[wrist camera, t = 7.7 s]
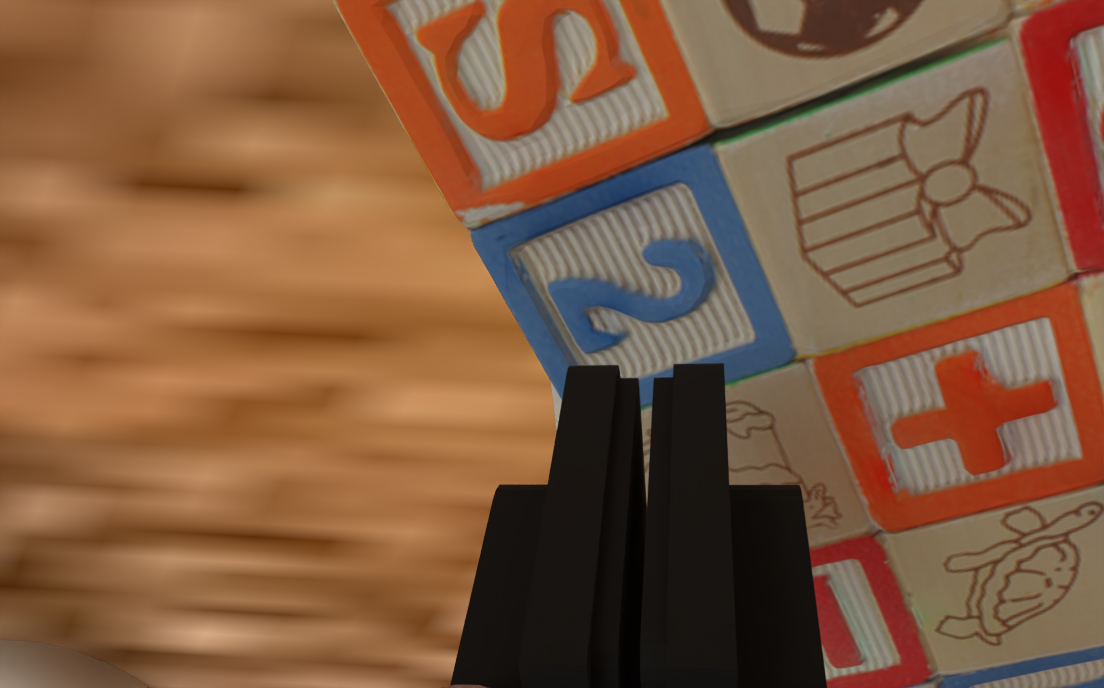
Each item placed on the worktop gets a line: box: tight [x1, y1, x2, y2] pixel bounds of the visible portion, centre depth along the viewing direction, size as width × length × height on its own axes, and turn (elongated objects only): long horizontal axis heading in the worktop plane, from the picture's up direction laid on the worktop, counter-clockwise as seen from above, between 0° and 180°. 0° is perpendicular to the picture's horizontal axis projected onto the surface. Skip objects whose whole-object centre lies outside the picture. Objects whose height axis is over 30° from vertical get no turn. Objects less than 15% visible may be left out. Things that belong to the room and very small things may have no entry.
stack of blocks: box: [333, 0, 1104, 688], centre depth 13 cm, size 21×6×12 cm
